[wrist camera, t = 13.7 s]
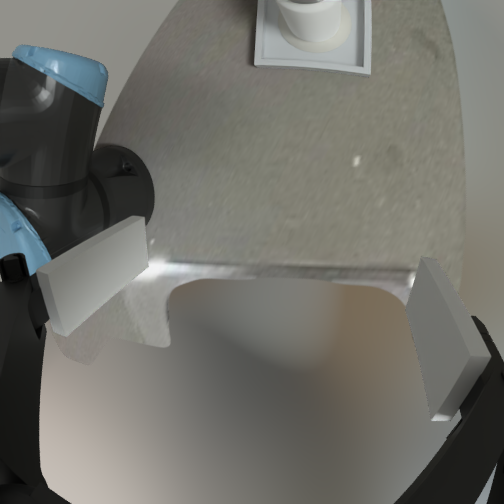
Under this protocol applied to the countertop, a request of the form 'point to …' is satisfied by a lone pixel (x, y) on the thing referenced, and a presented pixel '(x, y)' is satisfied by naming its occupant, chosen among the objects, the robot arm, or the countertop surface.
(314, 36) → the can
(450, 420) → the robot arm
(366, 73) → the flange tray
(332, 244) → the countertop surface
